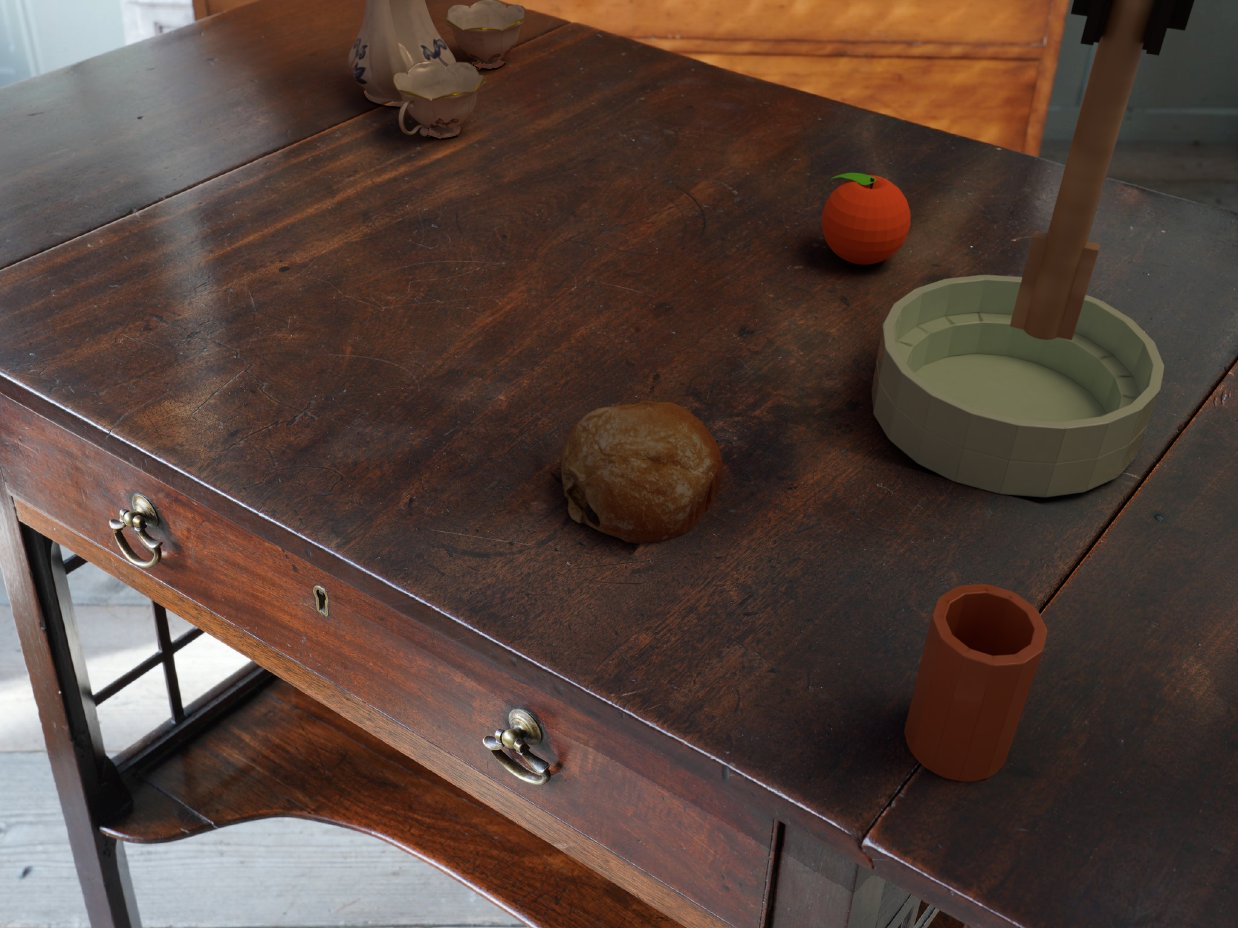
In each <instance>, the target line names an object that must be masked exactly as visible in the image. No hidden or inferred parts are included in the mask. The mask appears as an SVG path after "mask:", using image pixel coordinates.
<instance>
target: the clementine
mask: <svg viewBox="0 0 1238 928" xmlns="http://www.w3.org/2000/svg"><path fill="white" fill-rule="evenodd" d="M835 179H846V180H845V181H844V182H841V184H840V185H839V186H837V188H836V189H834V190H833V191H832V192H831V194H830V195H829V197H828V199H827V200H826V202H825V204H824V206H823V210H822V214H821V228H822V229H821V230H822V234H823V236H824V239H825V242H826V243H827V245H828V246H829V248H830V249H831V250H832V252H833V253H834V254H835V255H836V256H837V257H839V258H840V259H843V260H844V261H846V262H848V263H851V264H855V265H860V266H862V265H863V266H867V265H874V264H878V263H880V262H884V261H886V260H887V259H889V258H890V257H892V256H893V255H894V254H896V253H897V252H898V251H899V250H900V248H901V247H902V246H903V244H904V243H905V241H906V239H907V237H908V234H909V231H910V228H911V222H912V221H911V220H912V219H911V217H912V216H911V215H912V214H911V210H910V207H909V202H908V199H907V197H905V195H904V193H903V192H902V190H901V189H900V188H899V187H898V186H897V185H895V184H894V183H893V182H891V181H890V180H888V179H886V178H885V177H882V176H878V175H873V174H872V175H871V174H870V175H869V174H865V173H860V172H846V173H841V174H837V175H834V176H833V177H831V178H829V179H828V180H827V181H826V182H824V183H823V185H822V187H821V188H820V190H819V191H820V192H822V190H823V189H824V187H825V186H826V185H827V184H828V182H830V181H831V180H835Z"/></svg>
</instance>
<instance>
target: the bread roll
mask: <svg viewBox="0 0 1238 928" xmlns="http://www.w3.org/2000/svg"><path fill="white" fill-rule="evenodd" d="M718 442H719V440H716V439H715V438H714V436H713V435H712V433H711V432H710V430H709V429H708V427H707V426H706V424H705V422H704V421H702V420H700V419H699V418H697V417H696V416H695V415H694V414H693V413H692V412H691V411H690V410H689V409H686V408H685V407H683V406H681V405H678V404H677V403H675V402H672V401H659V402H658V401H654V400H643V401H641V402H638V403H637V404H621V405H615V406H614V405H613V406H604V407H598V408H596V409H594V410H592V411H590V412H588V413H587V414H585V415H584V416H583V417H582V418H581V419H580V420H579V421H577V422H576V424H575V425H574V426H573V428H572V429H571V431H570V433H569V435H567V438H566V441H565V444H564V446H563V449H562V451H561V454H560V465H561V466H560V467H561V468H560V469H561V470H560V471H561V482H562V487H563V491H564V497H565V498H566V499H567V501H568V506H567V513H568V514H569V516H570V518H571V520H572V521H573V520H574V521H575V522H577V523H579V524H585V525H587V526H589V527H591V528H593V530H596V531H597V532H600V533H602V534H605V535H609V536H612V537H614V538H617V539H620V540H622V541H624V542H626V543H628V544H629V543H630V544H636V545H641V544H642V543H656V542H663V541H667V540H671V539H674V538H678V537H680V536H683V535H685V534H686V533H688V532H690V531H692V530H693V529H694V527H695V526H697V525H698V524H699V522H700V520H701V519H702V518H703V517H704V513H707V512H708V511H709V510H710V508H711V506H713V504H714V502H715V499H716V498H717V496H718V494H719V489H720V487H721V486H722V485H721V484H722V482H723V472H724V461H723V457H722V456H723V455H722V452H721V449H720V446H719V443H718Z"/></svg>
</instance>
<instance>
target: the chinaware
mask: <svg viewBox="0 0 1238 928" xmlns="http://www.w3.org/2000/svg"><path fill="white" fill-rule="evenodd" d="M526 13H527V11H526V9H525V7H524V6H523V5H521V4H513V5H507V4H504V3H502V2H501V1H499V0H478V1H476V2H474V3H473V4H471V5H465V4H461V3H459V4H453V5H450V7H449V8H447V10H446V17H444V21H445V25H446V26H447V27H450V29H451V31H452V34H453V37H454V40H455V42H456V44H457V45H458V47H459V48H460V50H461V51H462V52H463V53H465V54H466V55H467V56H468V57H470V58H471V59H472V60H473V59H474V60H479V62H481V64H483V63H485V64H493V63H496V62H497V61H498V60H499V59H501V60H502V58H505V57H506V56H507V55H509V54H510V53H511V51H513V49H514V48H515V46H516V45H517V42H518V40H519V37H520V33H521V28H522V25H523V23H524V22H525V20H526ZM347 64H348V67H349V69H350V70H351V71H352V76H353V79H354V81H355V82H356V83H357V84H358V86H359V87H361V88H362V89H363V91H364V90H366V91H367V93H368V94H369V95H371V96H373V97H375V98H378V99H381V100H386V101H393V102H402V101H404V104H403V106H402V107H400V109H399V113H398V124H399V128H400V130H401V131H402V133H404V134H405V135H408V136H413V135H414V134H416V133H417V132H418V130H419V129H420V130H419V134H420V136H422V137H428V136H427V135H428V134H429V129H428V128H431V130H433V131H435V132H436V133H440V135H443V134H444V133H455V130H454V129H456V128H455V127H457V126H461V125H462V124H463V123H465V122H466V121H467V120H468V119H469V118H470V117H471V115H472V113H473V111H474V110H475V107H476V104H477V100H478V96H479V91H480V89H481V88H482V87H483V86H485V85H486V83H487V78H486V77H485V75H484V74H480V72H479V70H478V68H476V67H475V66H473V64H471V62H468V61H457V60H456V58H455V55H454V54H453V53H452V51H451V50H450V48H449V46H448V44H447V42H446V41H445V39H444V38H443V36H442V35H441V34H440V32H439V31H438V29H437V28H436V27H435V24H434V22H433V20H432V18H431V15H430V12H429V9H428V6H427V3H426V0H365V7H364V13H363V19H362V24H361V28H360V30H359V33H358V35H357V37H356V38H355V40H354V43H353V45H352V46H351V49H350V51H349V54H348V58H347ZM406 110H407V112H408V114H409V115H410V116H411V118H412V119H413V120H414V121H415V122H417V123H418V124H419V125H416V126H415V127H414V128H413V129H412V130H411V131H408V130H407V129H406V127H405V113H406Z"/></svg>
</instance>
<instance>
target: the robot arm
mask: <svg viewBox="0 0 1238 928" xmlns="http://www.w3.org/2000/svg"><path fill="white" fill-rule="evenodd" d="M1110 2H1111V0H1073V2H1072V5H1071V10H1070V15H1074V16H1080V17H1081V16H1082V17H1086V20H1085V23H1084V27H1083V30H1082V35H1081V39H1080V43H1079V44H1080V45H1085V46H1086V45H1087V46H1091V47H1092V46H1094V44H1095V43H1097V44H1098V43H1099V41H1100V38H1101V35H1102V32H1103V28H1104V24H1105V20H1106V17H1107V13H1108V9H1109V5H1110ZM1194 3H1195V0H1156V1H1155V5H1154V8H1153V12H1152V15H1151V19H1150V22H1149V25H1148V29H1147V32H1146V36H1145V39H1144V43H1143V47H1142V50H1143V51H1146V52H1145V54H1146V55H1152V56H1160V54H1161V50H1162V48H1163V44H1164V40H1165V37H1166V34H1167V31H1168V29H1171V30H1176V31H1183V32H1184V31H1186V29H1187V26H1188V23H1189V20H1190V17H1191V13H1192V10H1193V6H1194V5H1195V4H1194Z"/></svg>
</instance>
